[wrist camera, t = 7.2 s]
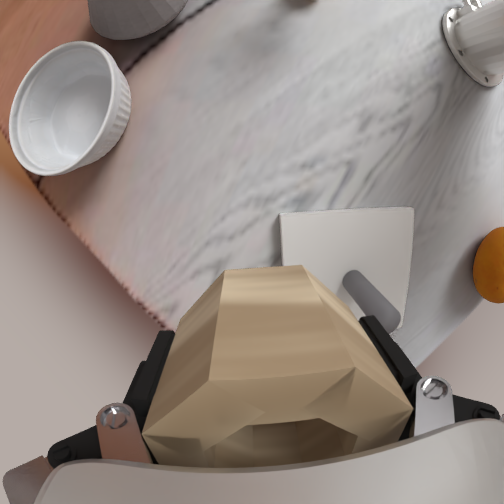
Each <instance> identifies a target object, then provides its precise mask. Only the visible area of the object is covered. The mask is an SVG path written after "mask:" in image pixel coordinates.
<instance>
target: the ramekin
mask: <svg viewBox="0 0 504 504" xmlns="http://www.w3.org/2000/svg"><path fill="white" fill-rule="evenodd" d="M131 101H132V100H131V92H130V88H129V85H128V82H127V80H126V78H125V77H124V75H123V73H122V72H121V71H120V69H119V68H118V67H117V65H116V62H115V61H114V59H113V57H112V56H111V55H110V54H109V53H108V52H107V51H106V50H105V49H103V48H102V47H100V46H98V45H96V44H94V43H92V42H88V41H73V42H69V43H65V44H62V45H60V46H58V47H56V48H54V49H52V50H51V51H49V52H48V53H46V54H45V55H44V56H43V57H41V58H40V59H39V60H38V61H37V62H36V63H35V64H34V65H33V67H32V68H31V69H30V70H29V72H28V73H27V74H26V76H25V77H24V79H23V80H22V82H21V84H20V86H19V88H18V90H17V92H16V95H15V98H14V100H13V104H12V108H11V113H10V119H9V136H10V142H11V146H12V149H13V152H14V154H15V156H16V158H17V160H18V161H19V162H20V163H21V165H22V166H23V167H24V168H26V169H27V170H29V171H30V172H32V173H34V174H37V175H42V176H56V175H62V174H65V173H68V172H71V171H73V170H75V169H77V168H79V167H82V166H85V165H88V164H91V163H93V162H94V161H97V160H99V159H100V158H101V157H103V156H105V155H106V153H108V152H109V151H110V150H111V149H112V147H114V146H115V145H116V143H117V141H118V140H119V139H120V137H121V135H122V134H123V132H124V129H125V128H126V126H127V123H128V121H129V116H130V113H131Z"/></svg>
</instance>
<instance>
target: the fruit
mask: <svg viewBox="0 0 504 504" xmlns="http://www.w3.org/2000/svg"><path fill="white" fill-rule="evenodd" d="M473 279H474V284H475V287H476V289H477V291H478V292H479V294H480V295H481V296H482V297H483V298H485V299H486V300H488V301H490V302H494V303H504V227H499V228H496V229H494V230H492V231H491V232H490V233H489V234H488V235H487V236H486V237H485V238H484V240H483V241H482V243H481V244H480V246H479V248H478V250H477V253H476V256H475V260H474V265H473Z"/></svg>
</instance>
